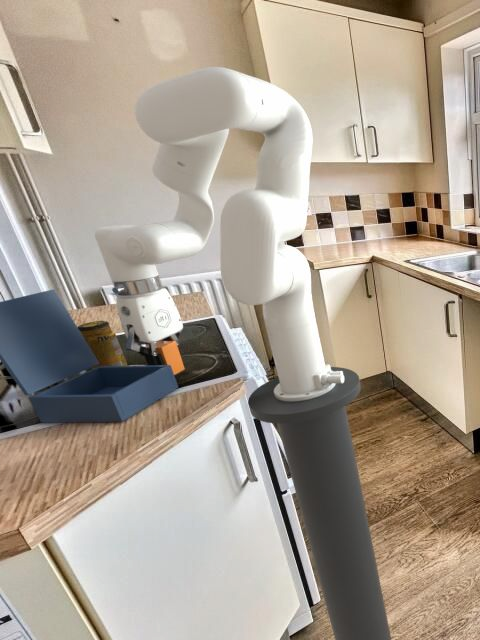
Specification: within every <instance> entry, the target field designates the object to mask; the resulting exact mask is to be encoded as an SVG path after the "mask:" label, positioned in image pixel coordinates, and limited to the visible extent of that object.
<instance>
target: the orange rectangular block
mask: <svg viewBox="0 0 480 640" xmlns="http://www.w3.org/2000/svg"><path fill="white" fill-rule="evenodd" d="M177 346H178V345H177V343H176V341H162V340H160V341H157V342H156V347H157V354H161V356H162V359H163V362H164V365H171V368H172V371H173V373H174V376H176V375H177V374H179V373H180V372H183V371H184V370H186V369H185V366H184V361H182V360H183V358H182V359H181V357H182V355H181V356H180V354H181V352H180V353H179V351H180V349H179V350H178V348H179V346H178V347H177ZM146 347H147V348H149V344H146Z"/></svg>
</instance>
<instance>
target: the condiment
mask: <svg viewBox="0 0 480 640" xmlns="http://www.w3.org/2000/svg"><path fill="white" fill-rule="evenodd" d="M77 328H78V329H79V331H80V332H81V334H82V336H83V337H84V339H85V341H86V342H87V344H88V346H89V347H90V349H91V350H92V352H93V354H94V355H95V357H96V359H97V360H98V362H99V364H98V365H96V366H93V367H91V368H90V370H92V369H94V368H96V367H98V366H143V365H144V364H131V365H128V363H127V362H128V361H127V360H126V357H125V355H124V352H123V350H122V347H121V345H120V341H119V339H118V337H117V334H116V333H115V332H114V331H113V330H112V328H111V326H110V323H109V322H108V321H107V320H95V321H90V322H86V323H82V324H79V325H78V326H77Z"/></svg>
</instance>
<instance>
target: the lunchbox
mask: <svg viewBox="0 0 480 640" xmlns="http://www.w3.org/2000/svg"><path fill="white" fill-rule="evenodd" d="M142 365H143V366H128V365H127V366H98V367H96V368H94V369H88V370H86V371H84V372H82V373H81V374H78V375H76V376H72V377H70V378H68V379H67V380H63V381H62V382H60V383H58V384H54V385H53V386H50V387H49V388H47V389H44V390H42V391H39V392H37V393H36V394H33V395H31V396H28V400H29V402H30V404H31V406H32V407H33V410H34V412H35V414H36V416H37V418H38V419H39V421H40V423H42V424H43V423H44V424H45V423H46V424H47V423H109V422H110V423H117V422H118V423H121V422H124V421H125V420H127V419H129V418H130V417H132V416H134V415H136V414H137V413H139V412H141V411H142V410H144V409H145V408H147V407H149V406H151V405H152V404H154V403H155V402H157V401H158V400H160V399H162V398H163V397H166V396H167V395H168V394H170V393H172V392H174V391H175V390H177V389H178V388H179V384H178V381H177V379H176V377H175V376H176V375H174V373H173V371H172V368H171V365H148V364H147V365H145V364H142Z"/></svg>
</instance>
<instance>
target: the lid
mask: <svg viewBox="0 0 480 640" xmlns="http://www.w3.org/2000/svg"><path fill="white" fill-rule="evenodd" d="M77 327H78V326H77V324H76V323H75V321H74V319H73V318H72V316H71V314H70V313H69V311H68V310H67V308H66V306H65V305H64V303H63V301H62V300H61V298H60V297H59V295H58V293H57V292H56V289H55V288H53V289H48V290H44V291H41V292H35V293H32V294H27V295H23V296H19V297H15V298H10V299H6V300H1V301H0V362H1V364H2V365H3V367H4V368H5V369H6V370H7V372H8V373H9V375H10V376H11V377H12V379H13V381H14V382H15V383H16V385H17V386H18V388H19V389H20V390H21V392H22V393H23V395H24V396H29V395H32V394H34V393H36V392H40V391H41V390H43V389H45V388H47V387H51V386H52V385H56V384H57V383H59V382H61V381H62V382H63V381H65V380H66V379H69V378H72V377H74V376H75V375H77V374H78V375H79V373H83V372H85V371H88V370H90V369H91V367H93V366H96V365H98V364H99V362H98V360H97V359H96V357H95V355H94V354H93V352H92V350H91V349H90V347H89V346H88V344H87V342H86V341H85V339H84V337H83V336H82V334H81V332H80V331H79V329H78V328H77Z"/></svg>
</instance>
